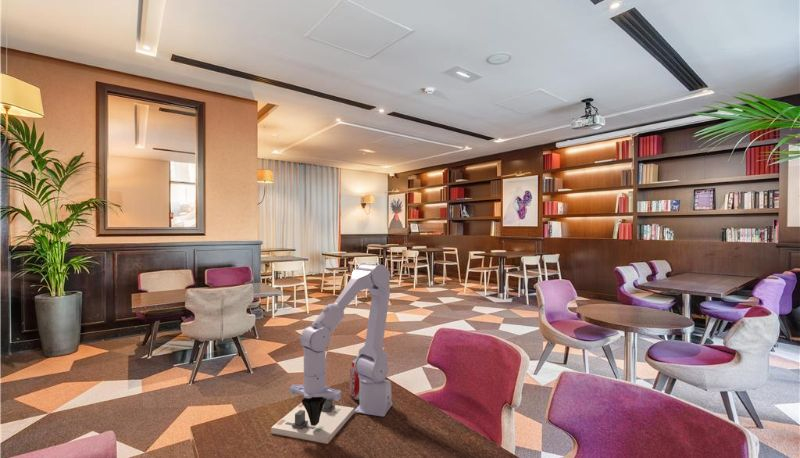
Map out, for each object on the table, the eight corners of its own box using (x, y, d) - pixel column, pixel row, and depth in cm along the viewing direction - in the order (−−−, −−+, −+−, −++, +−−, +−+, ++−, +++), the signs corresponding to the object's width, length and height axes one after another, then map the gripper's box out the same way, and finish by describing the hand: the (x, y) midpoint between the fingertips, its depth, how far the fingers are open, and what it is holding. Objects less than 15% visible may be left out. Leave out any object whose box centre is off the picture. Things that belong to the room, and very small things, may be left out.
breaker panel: (354, 412, 104) (353, 407, 104) (327, 443, 89) (327, 437, 89) (304, 405, 109) (304, 400, 109) (271, 433, 94) (271, 427, 94)
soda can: (367, 402, 110) (367, 364, 111) (346, 400, 112) (346, 363, 112) (373, 392, 117) (373, 356, 118) (353, 391, 119) (353, 355, 119)
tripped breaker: (307, 423, 96) (307, 410, 96) (301, 428, 93) (301, 416, 93) (298, 421, 96) (298, 409, 96) (292, 427, 94) (291, 414, 94)
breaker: (335, 407, 104) (334, 395, 104) (330, 412, 101) (330, 400, 101) (326, 405, 105) (326, 394, 105) (320, 410, 102) (320, 399, 102)
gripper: (282, 375, 92) (282, 427, 91) (332, 381, 88) (332, 436, 87) (297, 365, 98) (297, 414, 98) (344, 371, 94) (344, 421, 94)
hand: (314, 423), depth 93 cm, fingers closed
